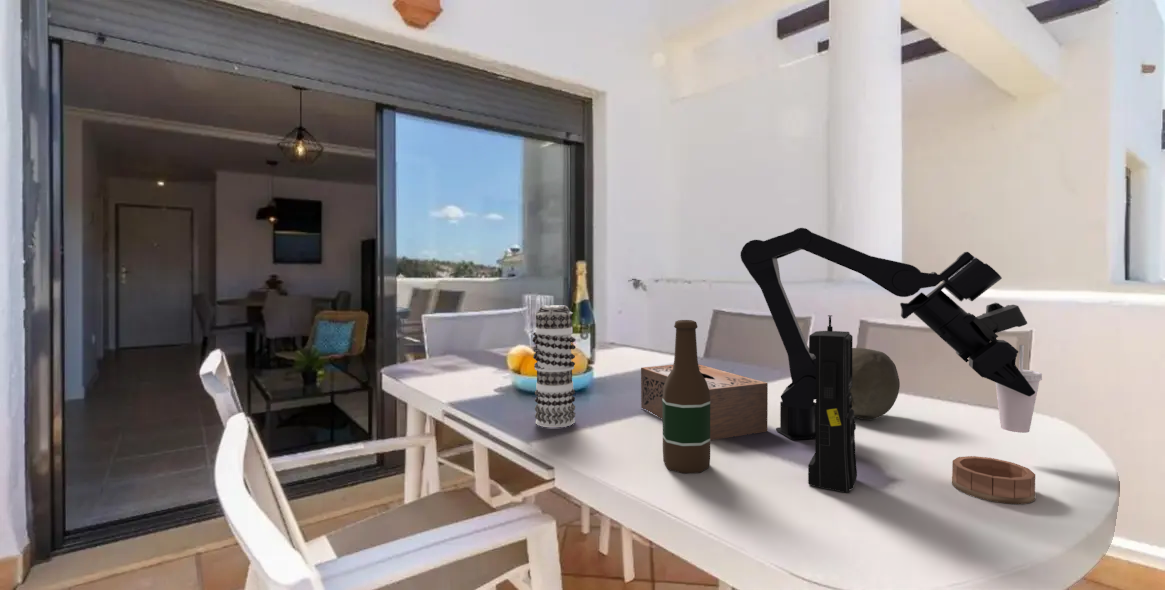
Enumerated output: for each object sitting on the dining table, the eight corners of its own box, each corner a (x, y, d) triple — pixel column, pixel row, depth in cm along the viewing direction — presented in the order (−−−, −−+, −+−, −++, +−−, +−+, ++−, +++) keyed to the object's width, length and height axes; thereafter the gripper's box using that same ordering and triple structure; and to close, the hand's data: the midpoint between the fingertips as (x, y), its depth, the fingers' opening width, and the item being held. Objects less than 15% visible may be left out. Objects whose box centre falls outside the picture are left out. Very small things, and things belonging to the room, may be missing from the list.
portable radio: (852, 497, 76) (854, 320, 74) (806, 488, 79) (807, 318, 78) (857, 478, 82) (859, 316, 81) (815, 471, 85) (816, 314, 84)
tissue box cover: (641, 410, 125) (640, 367, 125) (693, 403, 131) (693, 362, 130) (706, 442, 101) (706, 389, 101) (767, 432, 107) (767, 383, 106)
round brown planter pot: (992, 506, 72) (993, 482, 72) (935, 479, 82) (936, 458, 81) (1054, 501, 74) (1054, 477, 73) (991, 475, 83) (991, 454, 83)
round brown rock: (915, 426, 109) (916, 352, 108) (845, 426, 109) (846, 353, 109) (878, 408, 123) (878, 343, 122) (816, 409, 123) (816, 344, 123)
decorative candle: (524, 424, 113) (522, 306, 112) (551, 414, 121) (550, 304, 120) (559, 431, 108) (557, 307, 107) (585, 420, 116) (583, 305, 115)
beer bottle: (712, 460, 91) (712, 319, 90) (707, 476, 84) (707, 323, 83) (666, 455, 94) (666, 318, 93) (658, 471, 86) (657, 322, 85)
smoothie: (1049, 436, 85) (1053, 348, 84) (1003, 433, 86) (1006, 347, 86) (1025, 424, 91) (1028, 342, 91) (982, 422, 93) (985, 342, 92)
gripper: (1002, 289, 81) (1096, 368, 77) (979, 286, 98) (1055, 350, 93) (939, 338, 85) (1024, 415, 81) (927, 326, 102) (997, 390, 97)
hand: (1026, 390), depth 88 cm, fingers closed on smoothie, 6 cm apart
